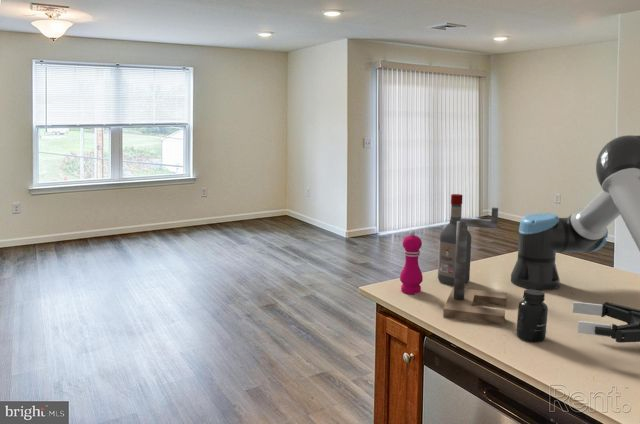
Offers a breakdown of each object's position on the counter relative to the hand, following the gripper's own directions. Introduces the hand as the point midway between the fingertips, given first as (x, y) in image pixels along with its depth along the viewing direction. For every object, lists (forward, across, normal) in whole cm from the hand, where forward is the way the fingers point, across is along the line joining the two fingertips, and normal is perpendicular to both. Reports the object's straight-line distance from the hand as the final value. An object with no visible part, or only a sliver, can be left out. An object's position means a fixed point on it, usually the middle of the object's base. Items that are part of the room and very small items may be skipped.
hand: (575, 316), depth 122 cm
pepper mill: (+45, +25, -7) cm, 52 cm away
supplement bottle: (+10, 0, -7) cm, 12 cm away
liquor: (+34, +40, -7) cm, 53 cm away
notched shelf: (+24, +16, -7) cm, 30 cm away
